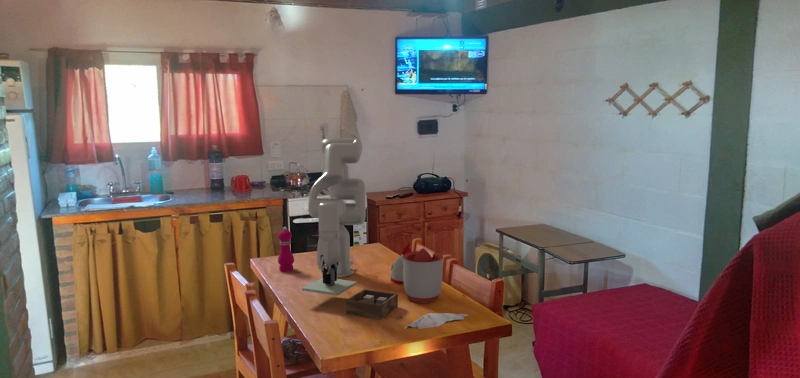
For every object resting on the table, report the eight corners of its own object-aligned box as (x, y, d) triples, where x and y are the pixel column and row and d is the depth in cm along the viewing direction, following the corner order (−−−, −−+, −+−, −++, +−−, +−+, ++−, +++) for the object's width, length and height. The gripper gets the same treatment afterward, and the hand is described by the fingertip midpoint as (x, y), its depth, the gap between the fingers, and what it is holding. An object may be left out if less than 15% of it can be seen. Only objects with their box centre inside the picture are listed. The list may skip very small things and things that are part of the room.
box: (364, 301, 212) (364, 288, 212) (397, 306, 207) (397, 293, 206) (345, 313, 200) (345, 300, 199) (380, 319, 194) (380, 306, 193)
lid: (323, 279, 222) (323, 262, 221) (356, 284, 215) (356, 266, 215) (302, 290, 208) (301, 272, 207) (336, 295, 202) (336, 277, 201)
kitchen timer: (385, 282, 235) (385, 248, 233) (397, 273, 248) (397, 240, 245) (416, 286, 230) (416, 251, 228) (427, 277, 242) (427, 243, 240)
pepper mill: (290, 272, 249) (289, 228, 246) (275, 271, 251) (274, 228, 248) (296, 268, 256) (295, 225, 253) (282, 267, 258) (280, 224, 255)
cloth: (463, 311, 204) (463, 305, 204) (479, 325, 191) (479, 319, 190) (394, 319, 197) (394, 312, 196) (406, 334, 184) (406, 327, 183)
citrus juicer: (448, 293, 222) (449, 244, 219) (437, 307, 206) (437, 255, 203) (411, 288, 227) (411, 241, 224) (397, 303, 211) (396, 251, 208)
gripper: (332, 229, 218) (332, 275, 221) (308, 238, 203) (309, 287, 206) (348, 231, 215) (349, 277, 217) (325, 240, 200) (326, 289, 203)
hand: (329, 281), depth 212 cm, fingers closed on lid, 3 cm apart
